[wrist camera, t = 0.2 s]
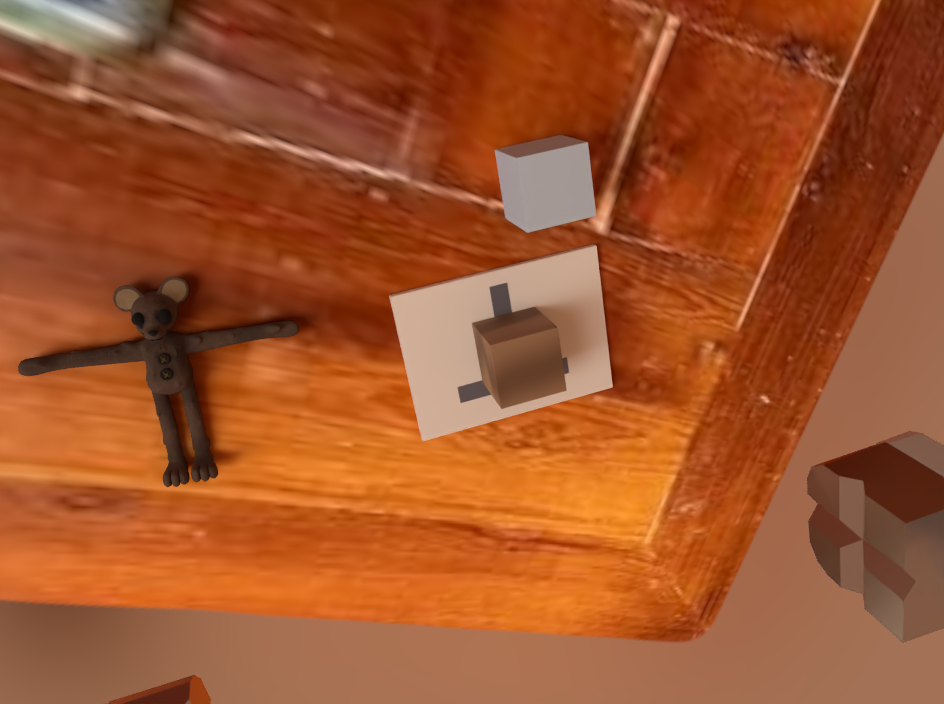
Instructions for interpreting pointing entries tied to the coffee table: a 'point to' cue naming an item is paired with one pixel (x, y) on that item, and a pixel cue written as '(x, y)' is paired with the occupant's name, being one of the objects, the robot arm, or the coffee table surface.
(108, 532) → the coffee table surface
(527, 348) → the walnut block
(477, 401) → the letter card
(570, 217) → the grey cube
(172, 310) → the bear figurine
